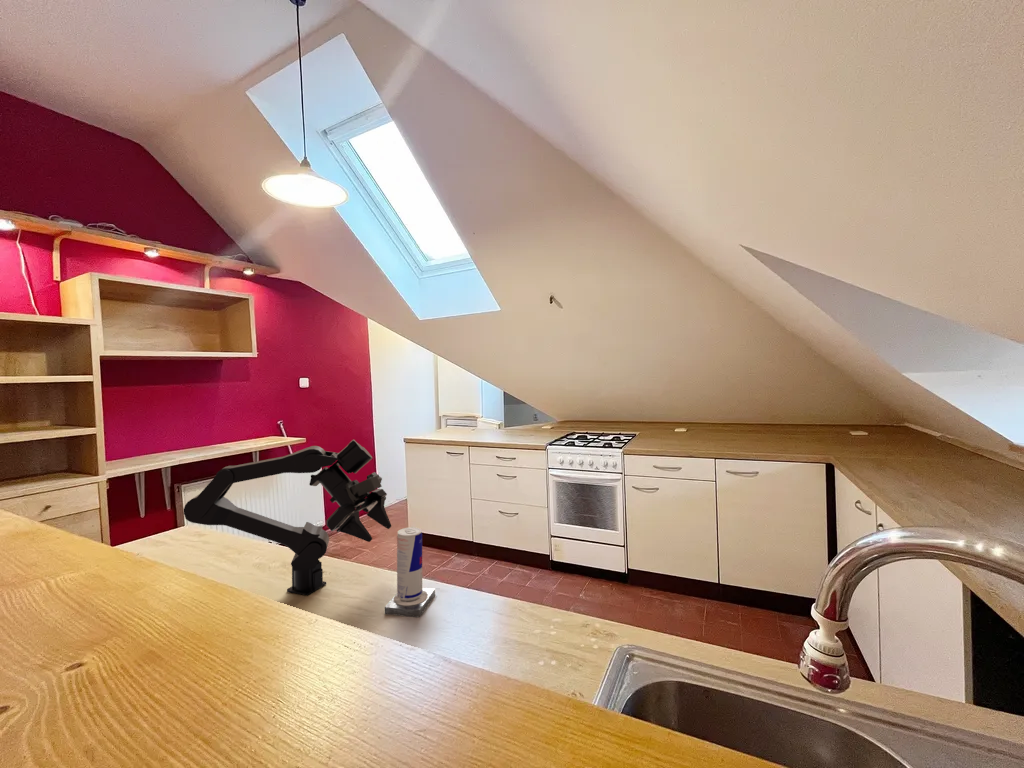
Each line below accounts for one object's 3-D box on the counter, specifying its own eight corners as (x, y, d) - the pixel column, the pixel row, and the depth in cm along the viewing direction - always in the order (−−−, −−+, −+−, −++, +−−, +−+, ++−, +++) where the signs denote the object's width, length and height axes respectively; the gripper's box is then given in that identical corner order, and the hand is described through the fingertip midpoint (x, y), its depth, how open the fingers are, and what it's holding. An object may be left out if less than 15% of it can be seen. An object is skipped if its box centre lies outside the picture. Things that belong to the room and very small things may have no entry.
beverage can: (416, 603, 97) (416, 535, 97) (392, 601, 98) (392, 534, 98) (426, 591, 102) (425, 527, 102) (403, 589, 103) (403, 526, 103)
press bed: (384, 614, 95) (384, 606, 95) (403, 592, 105) (403, 585, 105) (419, 617, 94) (419, 609, 94) (435, 594, 104) (435, 587, 104)
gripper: (337, 472, 99) (382, 524, 96) (379, 458, 117) (418, 501, 115) (307, 505, 100) (351, 557, 98) (353, 486, 119) (391, 529, 116)
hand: (380, 533), depth 107 cm, fingers open, 9 cm apart
